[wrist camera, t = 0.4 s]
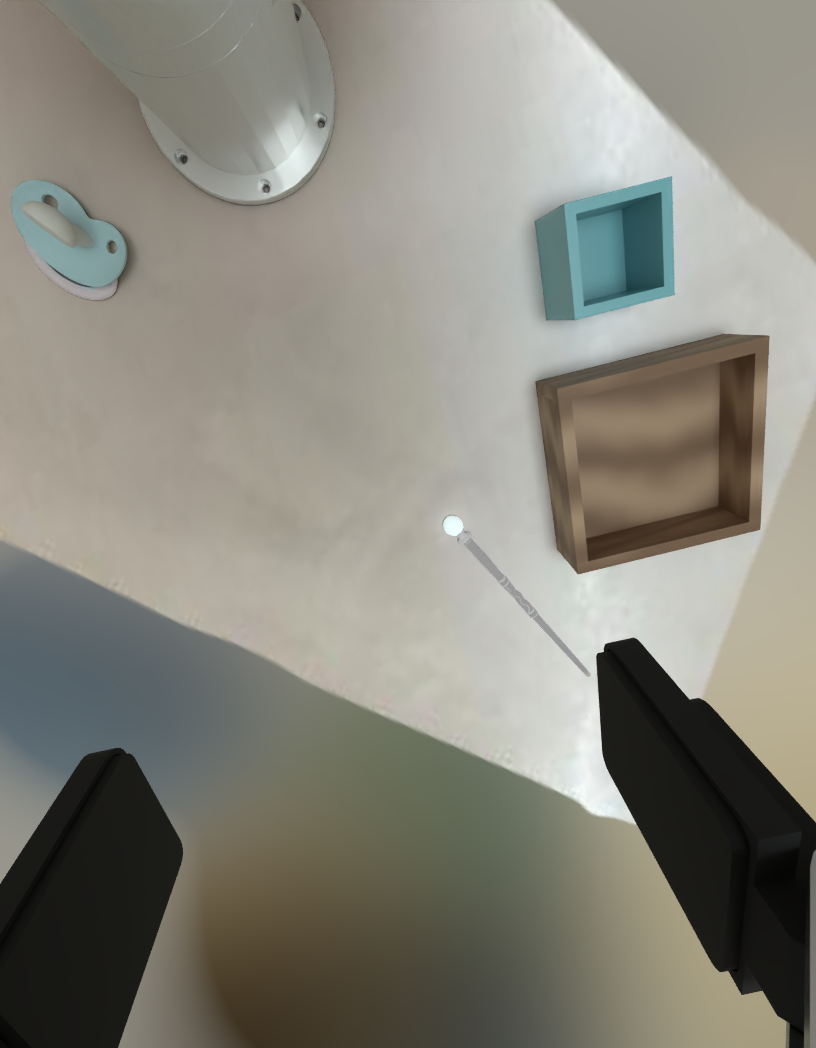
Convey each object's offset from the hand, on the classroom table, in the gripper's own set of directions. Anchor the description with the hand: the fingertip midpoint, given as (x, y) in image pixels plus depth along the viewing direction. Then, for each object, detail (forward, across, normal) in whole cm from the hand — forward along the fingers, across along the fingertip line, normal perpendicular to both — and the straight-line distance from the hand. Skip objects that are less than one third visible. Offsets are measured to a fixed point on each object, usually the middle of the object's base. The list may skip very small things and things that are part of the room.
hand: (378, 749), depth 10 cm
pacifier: (+35, +17, -16) cm, 42 cm away
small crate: (+34, -19, -9) cm, 40 cm away
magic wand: (+35, -11, +20) cm, 42 cm away
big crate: (+34, -23, +7) cm, 42 cm away
